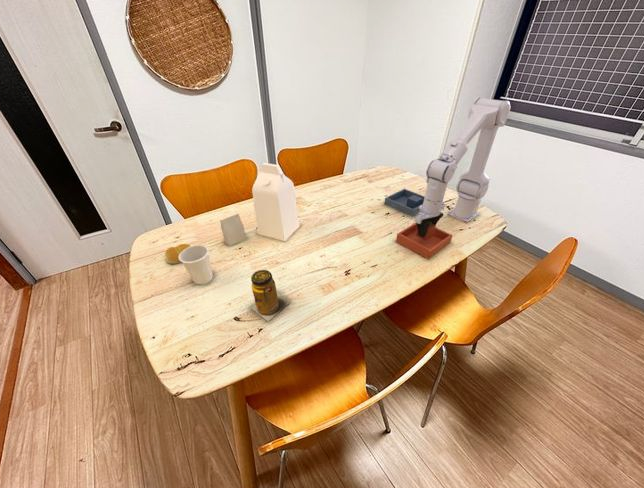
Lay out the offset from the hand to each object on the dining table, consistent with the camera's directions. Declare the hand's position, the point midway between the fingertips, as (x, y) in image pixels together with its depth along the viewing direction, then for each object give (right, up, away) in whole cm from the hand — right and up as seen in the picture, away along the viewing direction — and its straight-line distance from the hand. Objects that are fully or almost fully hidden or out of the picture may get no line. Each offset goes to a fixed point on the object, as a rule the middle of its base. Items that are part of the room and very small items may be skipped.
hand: (425, 233), depth 97 cm
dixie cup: (-74, -15, -10) cm, 76 cm away
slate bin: (+1, +13, +24) cm, 27 cm away
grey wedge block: (-68, -2, +6) cm, 69 cm away
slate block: (+3, +12, +22) cm, 25 cm away
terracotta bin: (0, -3, +3) cm, 4 cm away
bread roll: (-85, -8, -1) cm, 86 cm away
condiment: (-50, -22, -19) cm, 58 cm away
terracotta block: (0, -1, +1) cm, 1 cm away
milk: (-53, +2, +11) cm, 54 cm away
